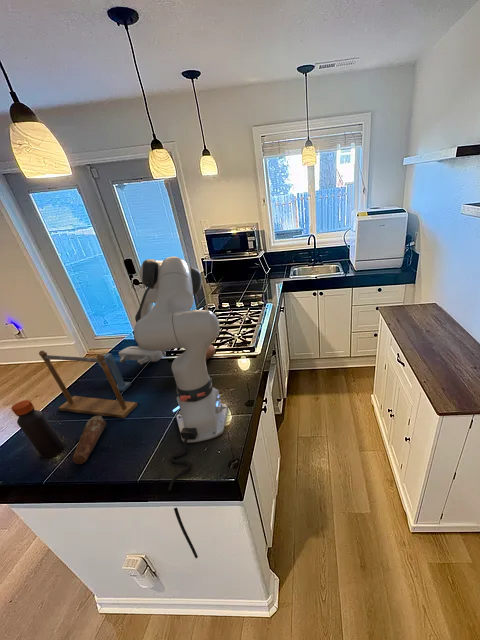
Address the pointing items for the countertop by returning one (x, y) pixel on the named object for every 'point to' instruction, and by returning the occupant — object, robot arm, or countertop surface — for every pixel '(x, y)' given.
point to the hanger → (116, 372)
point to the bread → (89, 439)
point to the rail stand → (85, 403)
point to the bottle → (37, 429)
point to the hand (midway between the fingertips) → (130, 362)
